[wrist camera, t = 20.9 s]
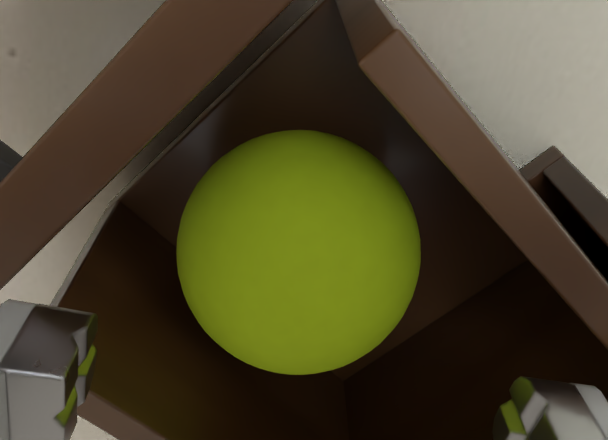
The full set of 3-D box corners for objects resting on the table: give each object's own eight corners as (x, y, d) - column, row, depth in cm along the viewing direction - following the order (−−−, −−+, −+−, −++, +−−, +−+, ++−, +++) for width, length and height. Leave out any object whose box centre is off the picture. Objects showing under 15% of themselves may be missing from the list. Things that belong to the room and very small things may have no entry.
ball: (200, 254, 18) (129, 393, 13) (228, 73, 15) (149, 163, 10) (381, 299, 18) (381, 456, 13) (444, 128, 15) (474, 245, 10)
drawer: (-126, 36, 16) (-447, 152, 9) (143, -351, 12) (-59, -668, 5) (325, 388, 23) (339, 603, 16) (585, 216, 19) (749, 402, 12)
